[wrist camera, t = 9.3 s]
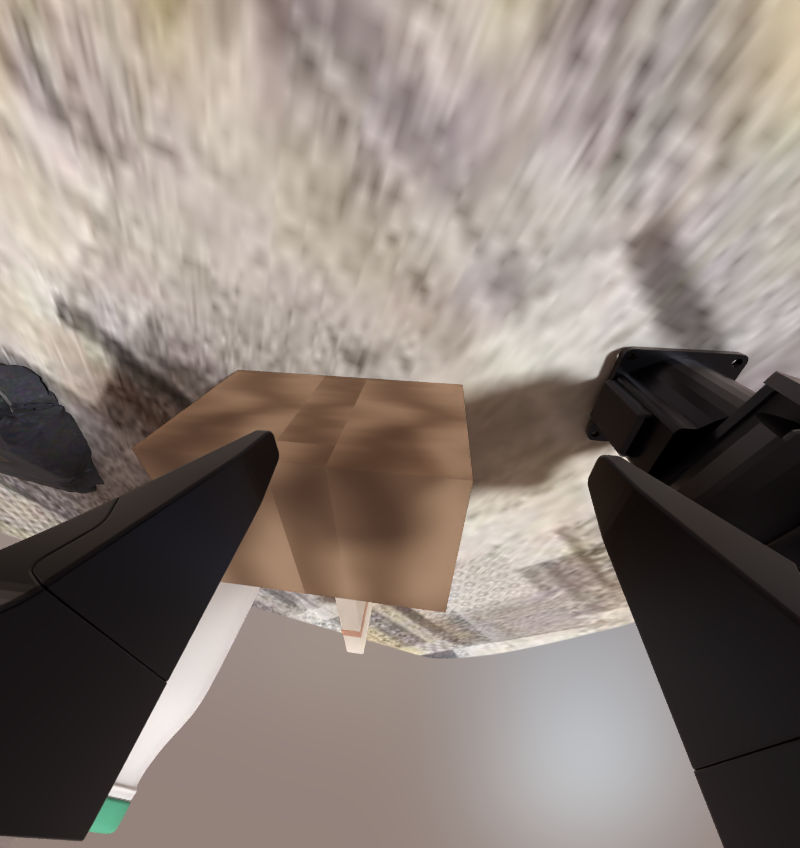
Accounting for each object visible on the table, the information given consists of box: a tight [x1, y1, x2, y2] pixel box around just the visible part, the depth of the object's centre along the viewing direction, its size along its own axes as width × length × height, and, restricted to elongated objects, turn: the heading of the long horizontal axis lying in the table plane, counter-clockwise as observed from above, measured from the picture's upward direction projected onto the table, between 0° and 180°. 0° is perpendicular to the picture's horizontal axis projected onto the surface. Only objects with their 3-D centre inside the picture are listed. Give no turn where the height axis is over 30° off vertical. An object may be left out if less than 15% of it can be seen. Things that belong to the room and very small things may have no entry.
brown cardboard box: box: [132, 370, 473, 612], centre depth 21 cm, size 16×13×9 cm
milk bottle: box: [89, 582, 260, 834], centre depth 30 cm, size 8×8×20 cm
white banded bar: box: [335, 598, 373, 654], centre depth 31 cm, size 2×16×6 cm, turn 179°
